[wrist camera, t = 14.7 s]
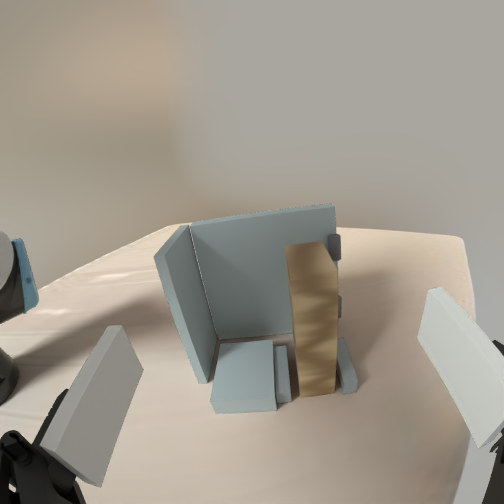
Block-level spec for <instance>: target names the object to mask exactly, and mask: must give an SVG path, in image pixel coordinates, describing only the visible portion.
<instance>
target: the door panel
mask: <svg viewBox="0 0 504 504" xmlns="http://www.w3.org/2000/svg"><path fill="white" fill-rule="evenodd" d="M284 250H285V259H286V268H287V277H288V286H289V296H290V306H291V316H292V326H293V337H294V349H295V360H296V368H297V376H298V384H299V393H300V398H305V397H312V396H319V395H325V394H331V393H334V391H335V377H336V360H337V336H338V270H337V268H336V266H335V264H334V263H333V261H332V259H331V257H330V255H329V253H328V252H327V250H326V248H325V246H324V244H323V243H322V241H318V242H311V243H303V244H295V245H287V246H284Z"/></svg>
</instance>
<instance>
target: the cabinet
mask: <svg viewBox="0 0 504 504" xmlns="http://www.w3.org/2000/svg"><path fill="white" fill-rule="evenodd" d="M190 229H191V232H190ZM191 234H192V237H191ZM192 238H193V241H192ZM318 241H322V243H323V244H324V246H325V248H326V250H327V252H328V253H329V255H330V257H331V259H332V261H333V263H334V264H335V266H336V268H337V270H338V262H337V261H338V260H340V259H341V241H340V235H339V234H336V218H335V207H334V206H333V205H332V204H331V203H329V204H320V205H312V206H303V207H295V208H287V209H279V210H272V211H265V212H257V213H250V214H243V215H236V216H229V217H222V218H216V219H210V220H203V221H197V222H193V223H192V224H191V226H190V228H189V225H184V226H180V227H179V228H178V229H177V230H176V231H175V232H174V234H173V235H172V236H171V237H170V238H169V239H168V240H167V242H166V243H165V244H164V245H163V246H162V247H161V248H160V250H159V251H158V252H157V253H156V254H155V255H154V260H155V263H156V267H157V270H158V273H159V276H160V280H161V283H162V286H163V289H164V292H165V295H166V298H167V301H168V304H169V307H170V310H171V313H172V316H173V319H174V321H175V324H176V327H177V330H178V332H179V335H180V338H181V341H182V343H183V346H184V348H185V351H186V354H187V356H188V359H189V361H190V364H191V366H192V369H193V371H194V373H195V376H196V378H197V381H198V383H208V378H209V374H210V369H211V364H212V359H213V354H214V349H215V344H216V340H217V335H218V338H219V340H223V339H236V338H247V337H258V336H267V335H276V334H285V333H293V326H292V316H291V306H290V296H289V286H288V277H287V268H286V259H285V250H284V246H287V245H295V244H303V243H311V242H318ZM193 242H194V245H193ZM194 247H195V249H194ZM195 251H196V254H195ZM196 255H197V258H196ZM197 259H198V262H197ZM198 263H199V266H198ZM199 267H200V270H199ZM200 271H201V274H200ZM201 275H202V278H201ZM202 279H203V282H202ZM203 283H204V286H203ZM204 287H205V289H204ZM205 291H206V293H205ZM206 295H207V297H206ZM207 298H208V301H207ZM208 302H209V305H208ZM209 306H210V308H209ZM210 310H211V312H210ZM211 313H212V316H211ZM212 317H213V319H212ZM340 317H341V296H339V295H338V319H339V318H340ZM213 321H214V323H213ZM214 324H215V326H214ZM215 328H216V330H215ZM216 331H217V333H216ZM336 369H337V373H338V376H339V380H340V384H341V388H342V391H343V394H347V393H352V392H356V391H357V385H358V379H357V376H356V373H355V370H354V367H353V364H352V361H351V358H350V355H349V352H348V349H347V347H346V344H345V341H344V338H343V337H341V338H337V360H336ZM276 398H277V401H276ZM210 402H211V404H212V406H213V408H214V411H215V413H246V412H262V411H275V410H277V404H278V403H288V402H291V391H290V380H289V369H288V359H287V349H286V346H277V347H273V340H272V339H270V340H261V341H251V342H239V343H227V344H220V350H219V355H218V361H217V366H216V372H215V377H214V383H213V388H212V394H211V399H210Z"/></svg>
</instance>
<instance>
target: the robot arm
mask: <svg viewBox="0 0 504 504" xmlns="http://www.w3.org/2000/svg"><path fill="white" fill-rule="evenodd" d="M38 302H39V295H38V291H37V287H36V284H35V281H34V277H33V273H32V270H31V266H30V262H29V259H28V255H27V252H26V249H25V245H24V242H23V241H22V239H20V238H19V239H13V240H12V242H11V241H10V239H9V238H8V236H7V235H6V234H5V233H3V232H2V231H0V324H2V323H4V322H6V321H8V320H10V319H12V318H14V317H16V316H18V315H20V314H22V313H23V314H25V313H26V312H27V311H28V310H30V309H32V308H34V307H35V306H36V305H37V304H38ZM417 340H418V341H419V343H420V344H421V346H422V348H423V349H424V351H425V352H426V354H427V355H428V357H429V359H430V360H431V362H432V364H433V365H434V367H435V369H436V370H437V372H438V374H439V375H440V377H441V379H442V380H443V382H444V384H445V386H446V387H447V389H448V391H449V393H450V395H451V396H452V398H453V400H454V402H455V404H456V406H457V407H458V409H459V411H460V413H461V415H462V417H463V419H464V421H465V423H466V425H467V427H468V429H469V431H470V433H471V435H472V437H473V439H474V441H475V443H476V445H477V447H478V449H479V448H480V447H482V446H484V445H486V444H487V443H489V442H491V441H492V440H493V439H494V438H495V437H496V436H497V435H498V434H499V433H500V431H501V433H502V435H503V436H502V437H501V438H500V439H499V440H498V441H497V442H496V443H495V444H494V445H493V447H492V448H491V450H490V452H493V451H494V450H495V449H496V448H497V447H498V449H497V450H496V452H495V453H497V455H496V459H495V463H494V467H493V471H492V474H491V478H490V481H489V484H488V487H487V490H486V493H485V496H484V499H483V502H482V504H504V345H503V344H501V343H499V342H498V341H496V340H494V341H491V340H490V339H489V338H488V337H487V335H486V334H485V333H484V332H483V331H482V330H481V328H480V327H479V326H478V325H477V324H476V323H475V322H474V320H473V319H472V318H471V317H470V316H469V315H468V314H467V313H466V312H465V311H464V309H463V308H462V307H461V306H460V305H459V304H458V303H457V302H456V301H455V300H454V299H453V298H452V297H451V296H450V295H449V294H448V293H447V292H446V291H445V290H444V289H443V288H442V287H437V288H433V289H429V290H428V293H427V298H426V303H425V307H424V312H423V316H422V321H421V325H420V329H419V333H418V336H417ZM143 370H144V369H143V367H142V365H141V364H140V362H139V360H138V358H137V356H136V354H135V352H134V350H133V348H132V345H131V343H130V341H129V339H128V337H127V335H126V333H125V331H124V328H123V326H122V325H112V326H108V327H107V328H106V330H105V331H104V333H103V334H102V336H101V338H100V339H99V341H98V342H97V344H96V345H95V347H94V349H93V350H92V352H91V353H90V355H89V357H88V358H87V360H86V361H85V363H84V365H83V366H82V368H81V370H80V371H79V373H78V375H77V376H76V378H75V380H74V382H73V383H72V385H71V387H70V389H65V390H64V391H63V392H62V393H61V394H60V395H59V396H58V397H57V399H56V400H55V402H54V404H53V406H52V407H53V408H51V409H50V411H49V413H48V416H47V417H46V419H45V420H44V422H43V424H42V426H41V428H40V430H39V432H38V434H37V436H36V438H35V440H34V442H33V443H32V445H31V444H30V443H29V442H28V441H27V440H26V439H25V438H24V437H23V436H22V435H21V434H20V433H19V432H18V431H15V430H11V431H8V432H6V433H5V434H4V435H3V436H2V437H1V439H0V504H86V502H85V500H84V497H83V495H82V492H81V490H80V487H79V485H78V483H77V481H75V478H76V476H77V477H79V478H80V479H81V480H83V481H84V482H86V483H89V484H91V485H94V486H97V487H100V488H101V486H102V483H103V480H104V477H105V474H106V470H107V467H108V464H109V461H110V458H111V455H112V453H113V450H114V447H115V444H116V441H117V438H118V435H119V433H120V430H121V427H122V424H123V422H124V419H125V416H126V414H127V411H128V408H129V406H130V403H131V401H132V398H133V395H134V393H135V390H136V388H137V385H138V383H139V380H140V378H141V375H142V373H143ZM18 373H19V372H18V368H17V366H16V364H15V363H14V361H13V360H12V358H11V357H10V356H9V355H8V354H6V353H5V352H4V351H3V350H2V349H1V348H0V404H1V403H2V402H3V401H4V400H5V399H6V398H7V397H8V396H9V395H10V393H11V392H12V390H13V389H14V387H15V385H16V382H17V379H18ZM9 483H10V484H11V485H12V486H14V487H15V488H16V492H15V493H14V492H13V491H11V490H10V489H9Z"/></svg>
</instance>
